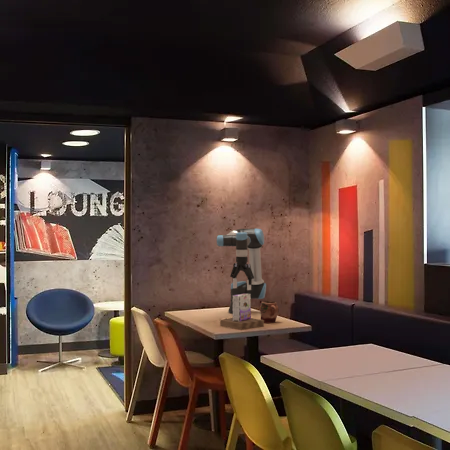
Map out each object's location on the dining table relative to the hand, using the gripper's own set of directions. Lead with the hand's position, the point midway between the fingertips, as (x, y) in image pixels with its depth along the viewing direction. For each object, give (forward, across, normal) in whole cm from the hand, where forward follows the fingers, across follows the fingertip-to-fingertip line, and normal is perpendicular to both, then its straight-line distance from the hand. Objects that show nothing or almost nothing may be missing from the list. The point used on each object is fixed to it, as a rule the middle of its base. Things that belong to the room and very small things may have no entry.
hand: (242, 289), depth 391 cm
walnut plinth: (+24, 0, 0) cm, 24 cm away
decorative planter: (+24, +1, +24) cm, 34 cm away
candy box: (+20, 0, 0) cm, 20 cm away
